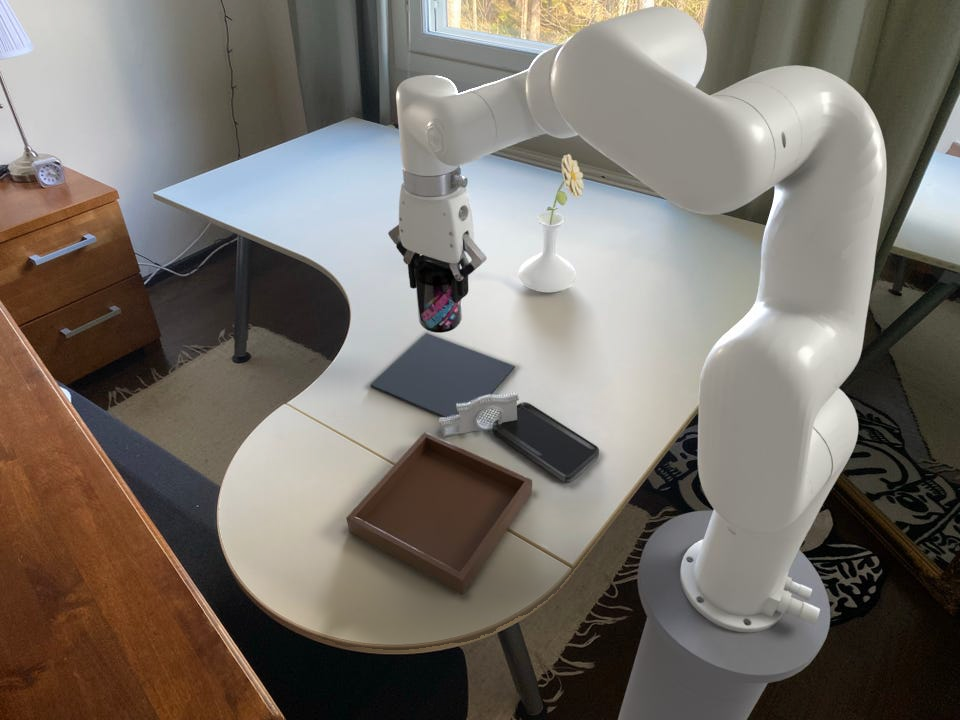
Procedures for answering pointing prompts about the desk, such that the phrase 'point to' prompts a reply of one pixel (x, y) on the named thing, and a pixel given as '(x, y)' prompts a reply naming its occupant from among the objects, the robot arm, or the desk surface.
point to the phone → (547, 442)
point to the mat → (442, 376)
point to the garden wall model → (474, 408)
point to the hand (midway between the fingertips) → (438, 290)
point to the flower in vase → (553, 241)
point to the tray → (441, 510)
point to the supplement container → (435, 295)
